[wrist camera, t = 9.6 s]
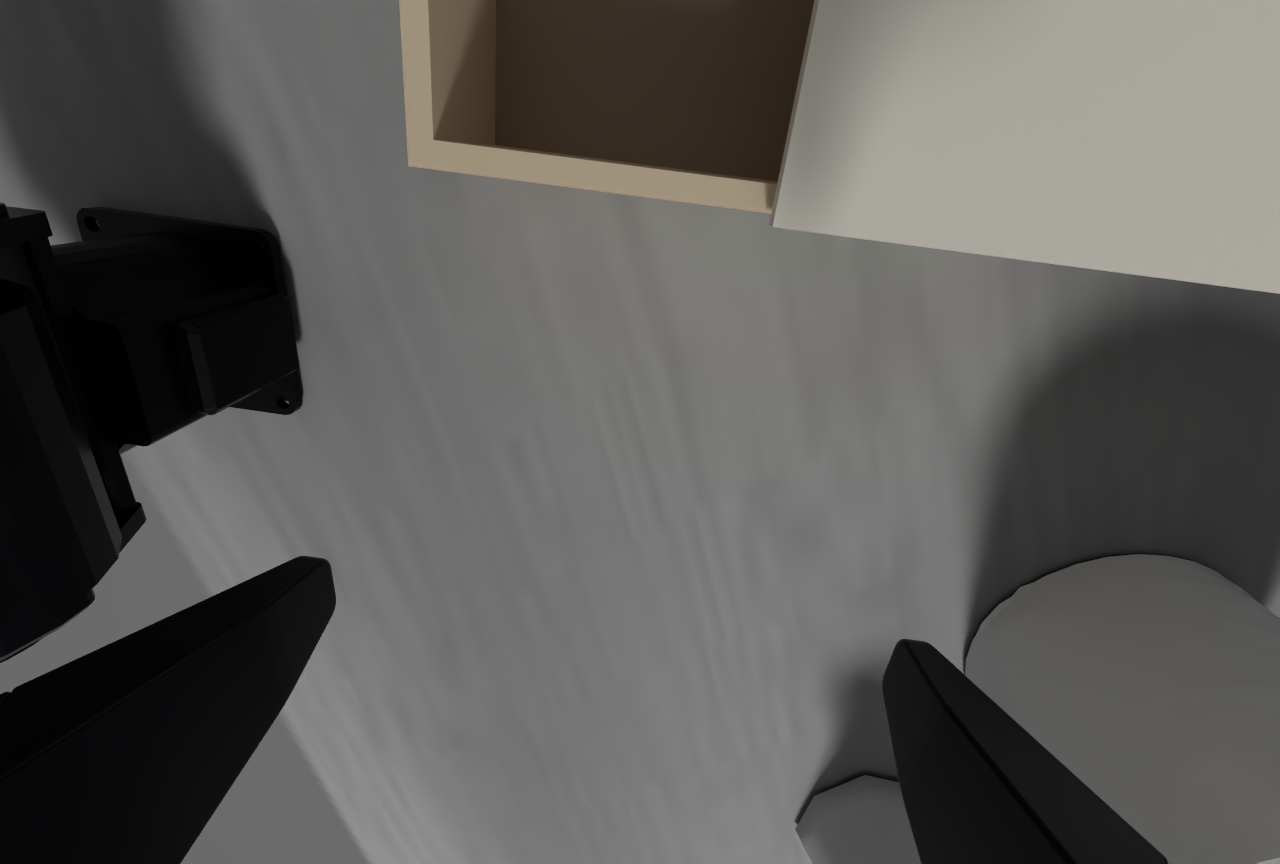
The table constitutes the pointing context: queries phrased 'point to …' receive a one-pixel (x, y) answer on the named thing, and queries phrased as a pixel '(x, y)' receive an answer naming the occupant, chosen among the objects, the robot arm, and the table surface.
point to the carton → (607, 93)
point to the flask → (859, 825)
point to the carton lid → (1045, 133)
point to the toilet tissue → (1149, 697)
